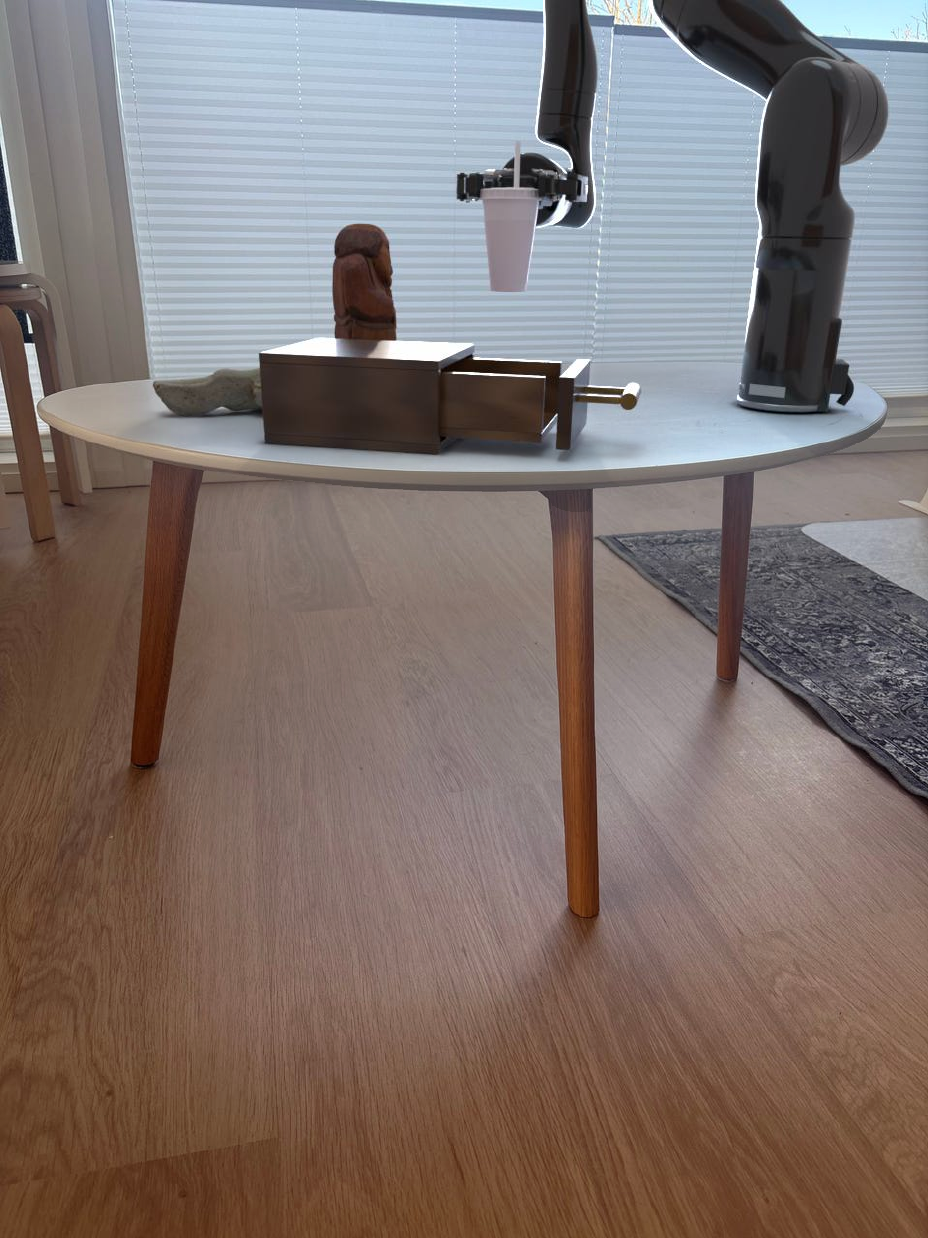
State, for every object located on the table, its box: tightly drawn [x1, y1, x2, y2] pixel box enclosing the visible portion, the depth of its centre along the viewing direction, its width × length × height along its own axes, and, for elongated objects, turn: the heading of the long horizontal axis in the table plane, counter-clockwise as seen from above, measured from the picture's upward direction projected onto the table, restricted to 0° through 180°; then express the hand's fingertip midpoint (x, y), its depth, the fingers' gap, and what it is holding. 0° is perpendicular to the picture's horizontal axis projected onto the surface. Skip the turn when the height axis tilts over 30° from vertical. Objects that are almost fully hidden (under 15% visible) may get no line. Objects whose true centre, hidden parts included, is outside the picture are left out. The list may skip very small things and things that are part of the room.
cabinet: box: [258, 337, 475, 455], centre depth 84 cm, size 16×14×8 cm
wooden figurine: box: [331, 223, 398, 341], centre depth 101 cm, size 12×6×18 cm, turn 15°
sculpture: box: [152, 367, 262, 417], centre depth 94 cm, size 7×5×15 cm
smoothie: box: [479, 140, 542, 293], centre depth 95 cm, size 6×6×14 cm
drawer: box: [440, 357, 642, 451], centre depth 81 cm, size 19×12×6 cm, turn 77°
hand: (507, 184), depth 92 cm, fingers closed on smoothie, 6 cm apart
